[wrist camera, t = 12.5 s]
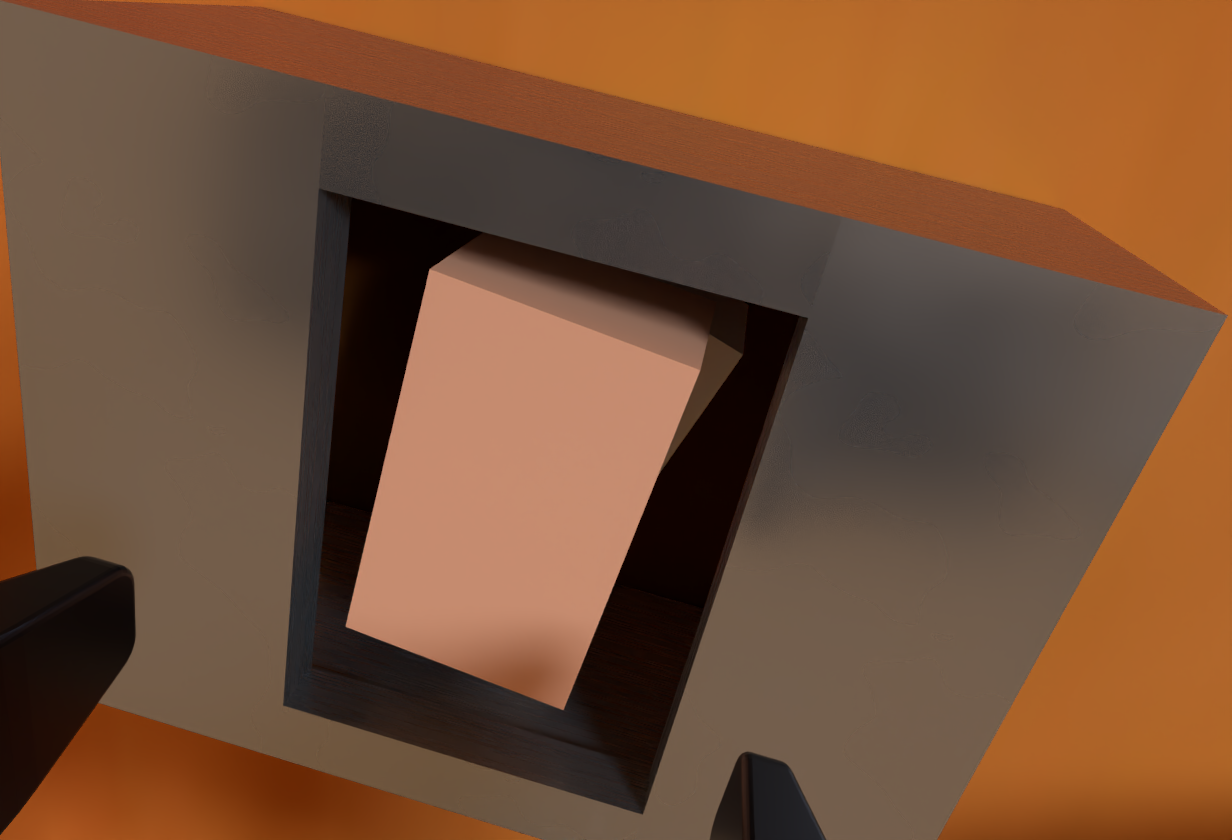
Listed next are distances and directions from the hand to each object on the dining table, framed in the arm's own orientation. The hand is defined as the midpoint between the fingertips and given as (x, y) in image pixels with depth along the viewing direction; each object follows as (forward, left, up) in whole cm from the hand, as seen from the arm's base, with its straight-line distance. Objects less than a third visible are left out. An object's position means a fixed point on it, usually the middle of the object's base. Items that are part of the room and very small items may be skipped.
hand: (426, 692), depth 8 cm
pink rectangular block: (0, 0, -5) cm, 5 cm away
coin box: (0, 0, -8) cm, 8 cm away
